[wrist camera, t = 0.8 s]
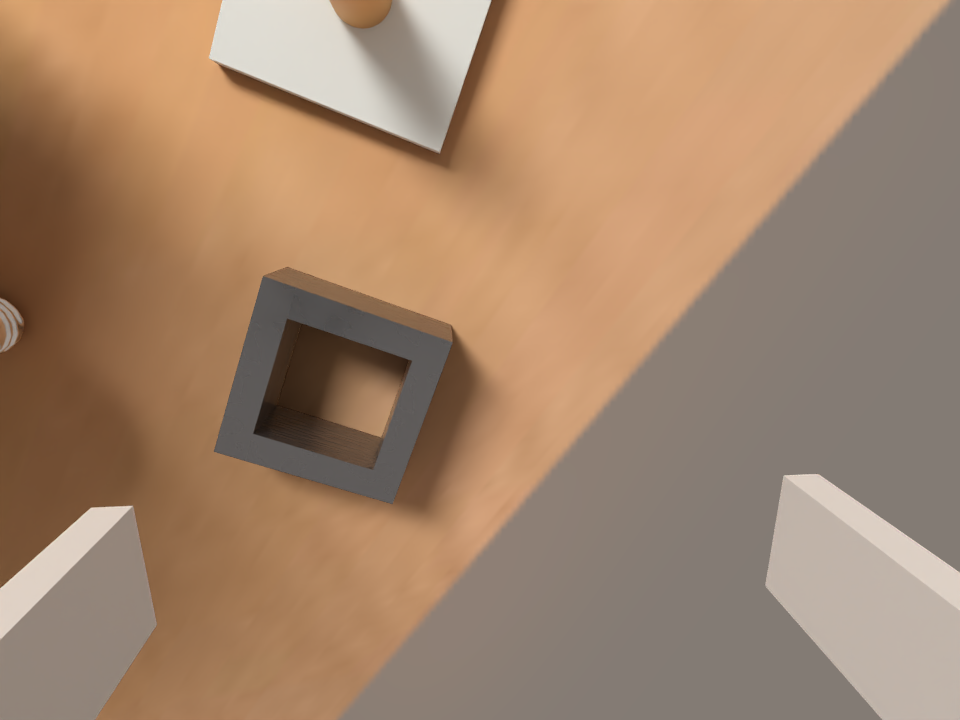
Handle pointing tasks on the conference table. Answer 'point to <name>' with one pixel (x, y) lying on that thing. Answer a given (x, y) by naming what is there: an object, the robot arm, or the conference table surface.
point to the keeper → (359, 56)
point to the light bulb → (9, 325)
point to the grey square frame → (313, 441)
